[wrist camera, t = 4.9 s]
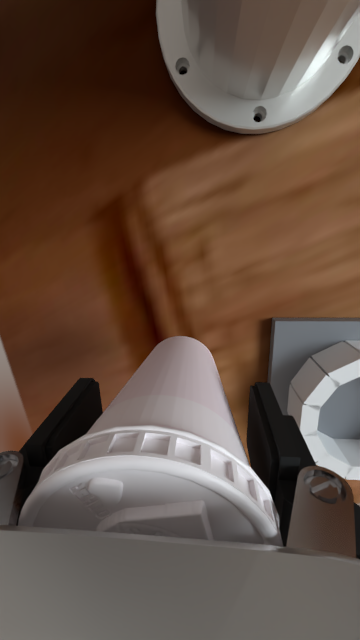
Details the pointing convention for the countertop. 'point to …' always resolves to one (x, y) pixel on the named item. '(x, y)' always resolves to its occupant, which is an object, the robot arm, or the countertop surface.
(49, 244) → the countertop surface
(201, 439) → the smoothie
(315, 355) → the holder
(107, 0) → the countertop surface
